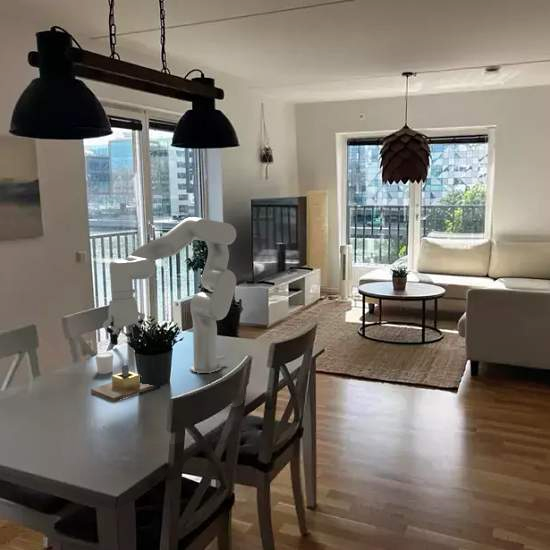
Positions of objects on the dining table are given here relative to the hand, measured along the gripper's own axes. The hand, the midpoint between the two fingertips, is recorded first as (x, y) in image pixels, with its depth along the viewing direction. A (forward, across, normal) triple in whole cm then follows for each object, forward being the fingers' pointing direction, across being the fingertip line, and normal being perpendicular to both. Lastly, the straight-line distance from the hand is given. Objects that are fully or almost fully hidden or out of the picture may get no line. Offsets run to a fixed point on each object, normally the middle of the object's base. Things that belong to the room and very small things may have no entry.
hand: (125, 341), depth 205 cm
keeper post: (+17, +1, 0) cm, 17 cm away
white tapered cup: (+19, -6, -24) cm, 31 cm away
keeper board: (+18, +1, 0) cm, 18 cm away
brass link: (+17, +1, 0) cm, 17 cm away
